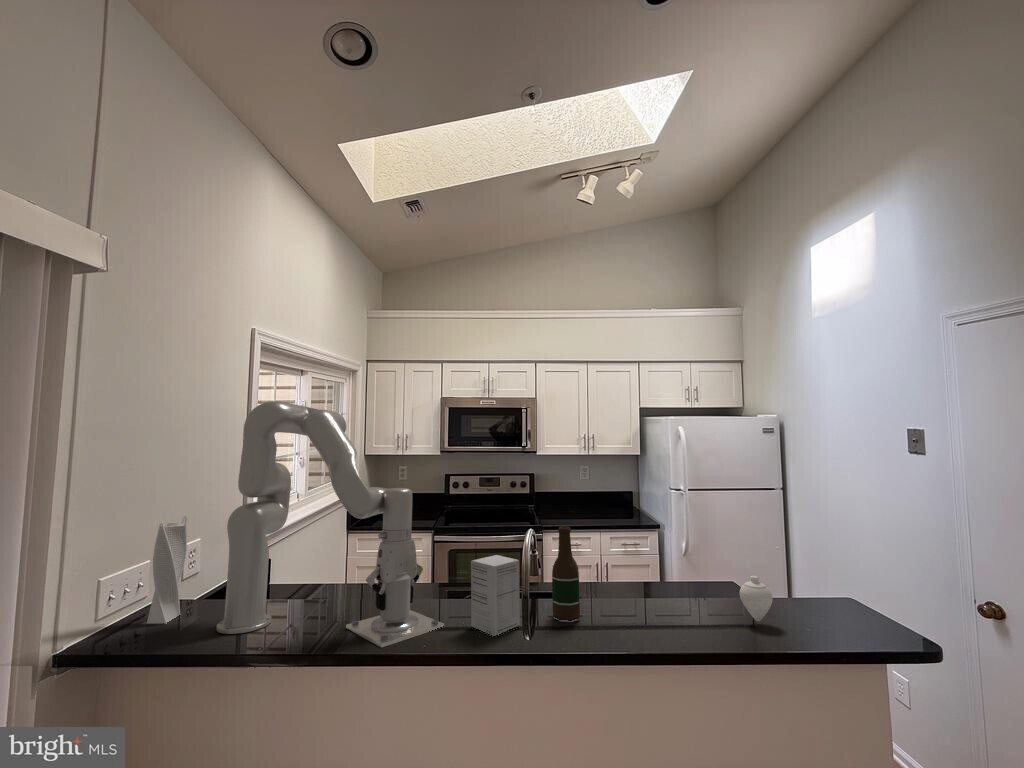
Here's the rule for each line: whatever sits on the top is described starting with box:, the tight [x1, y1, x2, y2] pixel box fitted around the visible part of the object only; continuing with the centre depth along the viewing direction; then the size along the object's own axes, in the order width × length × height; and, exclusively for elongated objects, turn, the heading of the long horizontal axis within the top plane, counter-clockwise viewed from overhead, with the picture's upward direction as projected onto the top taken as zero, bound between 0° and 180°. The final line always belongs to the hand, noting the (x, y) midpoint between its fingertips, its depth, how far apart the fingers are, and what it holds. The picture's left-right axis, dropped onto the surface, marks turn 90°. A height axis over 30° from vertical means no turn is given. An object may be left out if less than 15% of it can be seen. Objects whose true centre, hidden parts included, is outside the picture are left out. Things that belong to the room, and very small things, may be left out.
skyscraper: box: [141, 515, 188, 625], centre depth 130 cm, size 8×8×28 cm
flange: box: [345, 609, 445, 648], centre depth 121 cm, size 18×18×2 cm
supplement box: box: [470, 554, 521, 637], centre depth 122 cm, size 10×9×17 cm
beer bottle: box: [551, 525, 581, 621], centre depth 128 cm, size 8×8×24 cm
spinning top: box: [739, 575, 774, 622], centre depth 121 cm, size 8×8×12 cm
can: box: [379, 572, 411, 623], centre depth 122 cm, size 8×8×12 cm
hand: (394, 605), depth 122 cm, fingers closed on can, 7 cm apart
